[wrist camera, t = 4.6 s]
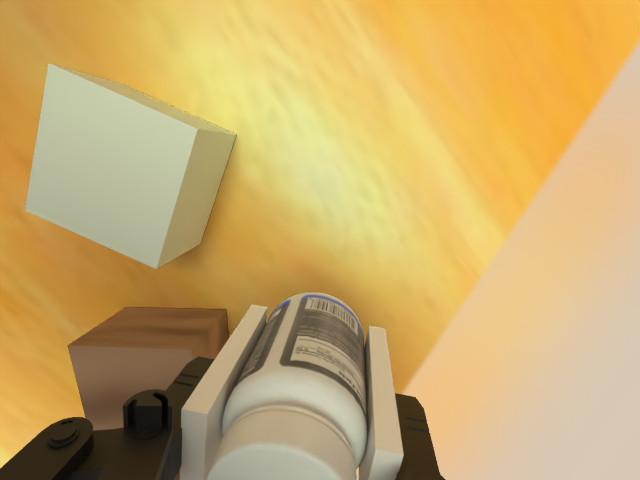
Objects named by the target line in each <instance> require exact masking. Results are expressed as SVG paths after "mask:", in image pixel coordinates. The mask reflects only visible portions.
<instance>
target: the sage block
mask: <svg viewBox="0 0 640 480" xmlns="http://www.w3.org/2000/svg"><path fill="white" fill-rule="evenodd" d="M235 138H236V134H234V133H232V132H230V131H227V130H225V129H223V128H221V127H218V126H216V125H214V124H211V123H209V122H207V121H205V120H202V119H200V118H198V117H196V116H193V115H191V114H189V113H187V112H184V111H182V110H180V109H178V108H175V107H173V106H171V105H169V104H166V103H164V102H162V101H160V100H157V99H155V98H153V97H150V96H148V95H146V94H144V93H141V92H139V91H137V90H135V89H132V88H130V87H128V86H126V85H123V84H120V83H117V82H113V81H110V80H106V79H103V78H99V77H96V76H92V75H89V74H85V73H82V72H78V71H75V70H71V69H68V68H64V67H61V66H57V65H54V64H50V63H49V64H48V70H47V76H46V82H45V89H44V95H43V101H42V107H41V113H40V119H39V126H38V132H37V138H36V144H35V150H34V157H33V163H32V169H31V175H30V181H29V188H28V194H27V200H26V206H25V211H27V212H29V213H31V214H33V215H36V216H38V217H40V218H42V219H45V220H47V221H49V222H51V223H54V224H56V225H58V226H60V227H63V228H65V229H67V230H69V231H72V232H74V233H76V234H78V235H81V236H83V237H85V238H87V239H90V240H92V241H94V242H96V243H98V244H101V245H103V246H105V247H107V248H110V249H112V250H114V251H116V252H119V253H121V254H123V255H125V256H128V257H130V258H132V259H134V260H137V261H139V262H141V263H143V264H146V265H148V266H150V267H152V268H155V269H157V268H159V267H161V266H163V265H164V264H166V263H168V262H170V261H171V260H173V259H175V258H177V257H178V256H180V255H182V254H184V253H185V252H187V251H189V250H191V249H192V248H194V247H196V246H198V245H199V244H201V240H202V237H203V234H204V231H205V228H206V225H207V222H208V219H209V216H210V213H211V210H212V207H213V204H214V201H215V198H216V195H217V192H218V189H219V186H220V183H221V180H222V177H223V174H224V171H225V168H226V165H227V162H228V159H229V156H230V153H231V150H232V147H233V144H234V141H235Z"/></svg>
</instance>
